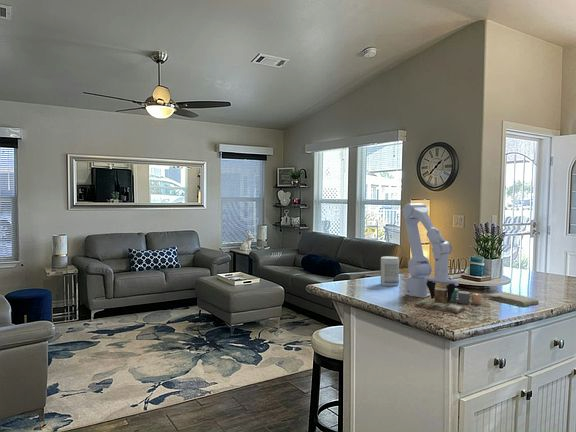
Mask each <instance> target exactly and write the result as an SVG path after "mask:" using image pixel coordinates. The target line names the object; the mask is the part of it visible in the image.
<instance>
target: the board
mask: <svg viewBox="0 0 576 432" xmlns="http://www.w3.org/2000/svg"><path fill="white" fill-rule="evenodd" d="M414 306H415V307H418V306H419V307H420V308H424V307H425V309H430V310H437V311H442V312H447V313H452V314H459V313H461V312H463V311H465V310H466V309H465V308H466V307H465V306H461V305H455V304H448V303H445V304H443V303H436V302H435V301H430V300H424V299H423V300H420V301H417V302H416V303H415V305H414Z"/></svg>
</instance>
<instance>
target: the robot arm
mask: <svg viewBox="0 0 576 432" xmlns="http://www.w3.org/2000/svg"><path fill="white" fill-rule="evenodd" d="M402 212H403V218H404V221H405V227H406V232H407V237H408V242H409V248H410V253H411V258H410V259H409V260H408V261H407V265H408V267H407V271H408V274H409V275H408V276H407V277H406V281H405V295H406V296H410V297H416V298H422V299H423V298H427V297H430V298H431V299H435V289H436V285H437V284H442V285H446V289H447V302H452V301H451V297H452V294H453V291H454V289H455V288H456V289H457V286H459V281H460V280H455V279H451V278H449V260H450V259H449V256H450V254H451V253H452V252H453V251H452V250H453V248H452V245H451V243H450V242H449V241H447V240H446V239H444V237H443V235H442V234H441V231H440V229H439V228H437V227H435V226H434V224H433V222H432V220H431V218H430V216H429V208H428V207H427V205H426V203H423V202H422V203H409V202H407V203H405V205H404V207H403V209H402ZM419 222H420V223H421V224H422V225H423V227H424V229H425V230H426V237H427V239H428V241H429V242H430V245H432V247H431V251H432V254H433V259H434V276H433V277H432V276H430V275H432V272H433V268H432V265H431V263H430V259H429V258H428V257H426V256H425V255H424V250H423V247H422V241H421V234H420V231H419V225H418V224H419ZM428 292H429V293H428Z"/></svg>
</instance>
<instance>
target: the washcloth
mask: <svg viewBox="0 0 576 432" xmlns="http://www.w3.org/2000/svg"><path fill="white" fill-rule="evenodd" d="M488 299H489V300H493V301H495V302H496V301H497V302H500V303H501V302H502V303H506V304H510V305H513V304H516V305H515V306H517V305H518V307H528V306H534V305H538V304H539V303H540V301H539V300H538V299H536V298H535V297H529V296H526V295H525V296H524V295H521V294H516V293H511V292H508V291H507V292H506V291H502V292H499V293H498V292H497V293H496V292H494V293H490V294H488Z"/></svg>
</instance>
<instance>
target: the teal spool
mask: <svg viewBox="0 0 576 432" xmlns="http://www.w3.org/2000/svg"><path fill="white" fill-rule="evenodd" d="M458 291H460V290H459V288H457V287H456V288H455V289H454V291H453V294H452V297H451V301H450V302H458V298H457V297H458V296H457V295H458Z"/></svg>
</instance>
